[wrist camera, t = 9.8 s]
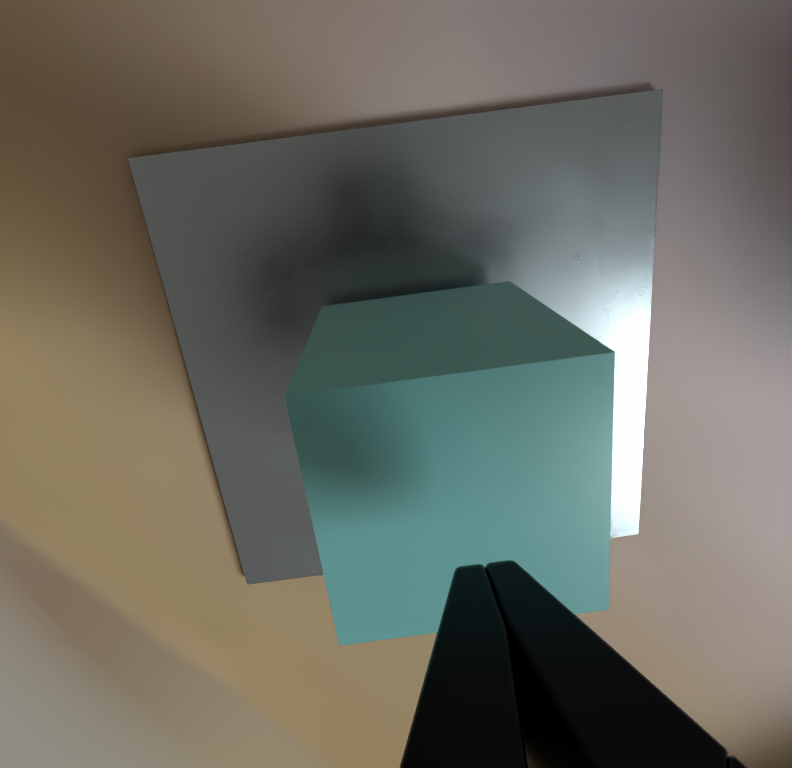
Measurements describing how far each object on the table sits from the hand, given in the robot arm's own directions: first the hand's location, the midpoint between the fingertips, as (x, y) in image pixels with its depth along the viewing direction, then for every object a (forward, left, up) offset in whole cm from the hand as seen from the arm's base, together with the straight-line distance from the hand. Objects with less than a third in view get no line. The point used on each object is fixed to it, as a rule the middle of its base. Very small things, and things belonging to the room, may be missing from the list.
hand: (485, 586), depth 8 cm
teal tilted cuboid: (0, 0, -8) cm, 8 cm away
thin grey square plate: (0, 0, -9) cm, 9 cm away
